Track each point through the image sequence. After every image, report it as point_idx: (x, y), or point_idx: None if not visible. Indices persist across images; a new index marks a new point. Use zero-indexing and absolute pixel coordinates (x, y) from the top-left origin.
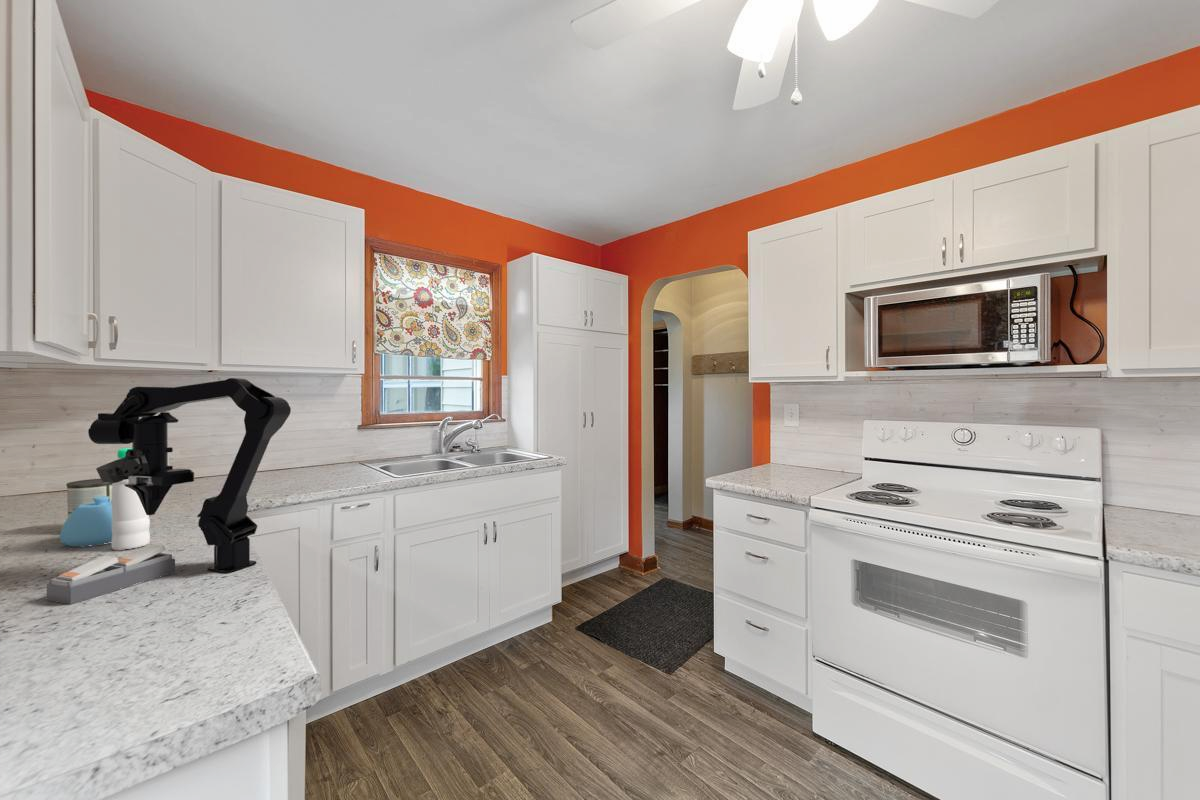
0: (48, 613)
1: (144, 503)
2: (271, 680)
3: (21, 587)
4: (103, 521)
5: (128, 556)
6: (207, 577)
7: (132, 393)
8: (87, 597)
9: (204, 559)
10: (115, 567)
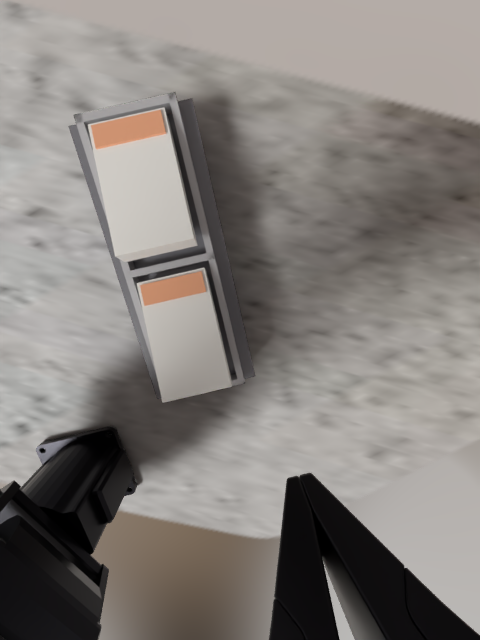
0: (62, 96)
1: (337, 551)
2: None
3: (393, 127)
4: None
5: (196, 309)
6: (53, 406)
7: None
8: None
9: (230, 455)
10: (164, 263)
